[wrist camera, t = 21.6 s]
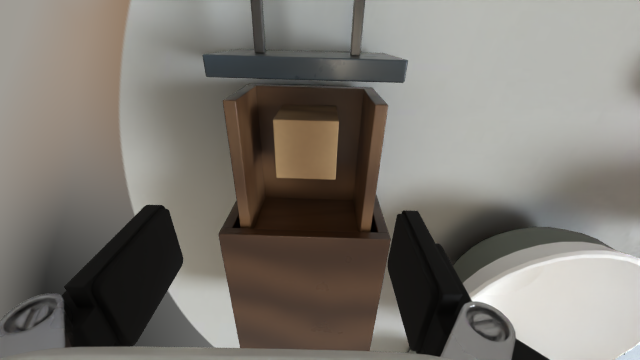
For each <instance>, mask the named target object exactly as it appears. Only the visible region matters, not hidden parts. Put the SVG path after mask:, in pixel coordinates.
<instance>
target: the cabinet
mask: <svg viewBox="0 0 640 360" xmlns="http://www.w3.org/2000/svg"><path fill="white" fill-rule="evenodd" d="M218 235H219V240H220V245H221V251H222V256H223V261H224V266H225V271H226V276H227V282H228V287H229V292H230V297H231V302H232V308H233V313H234V318H235V323H236V328H237V334H238V339H239V344H240V348H257V349H306V350H349V351H370V346H371V341H372V335H373V330H374V325H375V320H376V314H377V309H378V304H379V299H380V293H381V288H382V283H383V278H384V272H385V267H386V262H387V257H388V251H389V246H390V241H391V239H390V236H389V233H388V230H387V227H386V224H385V221H384V218H383V214H382V211H381V208H380V205H379V202H378V199H377V196H376V195H375V202H374V209H373V216H372V223H371V230H370V232H343V231H311V230H279V229H248V228H241V226H240V219H239V212H238V205H237V201H236V203H235V204H234V206H233V208H232V210H231V212H230V214H229V216H228V217H227V219H226V221H225V223H224V225H223V227H222V228H221V230H220V232H219V234H218Z"/></svg>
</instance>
